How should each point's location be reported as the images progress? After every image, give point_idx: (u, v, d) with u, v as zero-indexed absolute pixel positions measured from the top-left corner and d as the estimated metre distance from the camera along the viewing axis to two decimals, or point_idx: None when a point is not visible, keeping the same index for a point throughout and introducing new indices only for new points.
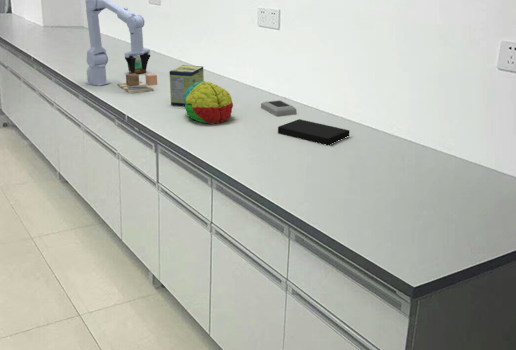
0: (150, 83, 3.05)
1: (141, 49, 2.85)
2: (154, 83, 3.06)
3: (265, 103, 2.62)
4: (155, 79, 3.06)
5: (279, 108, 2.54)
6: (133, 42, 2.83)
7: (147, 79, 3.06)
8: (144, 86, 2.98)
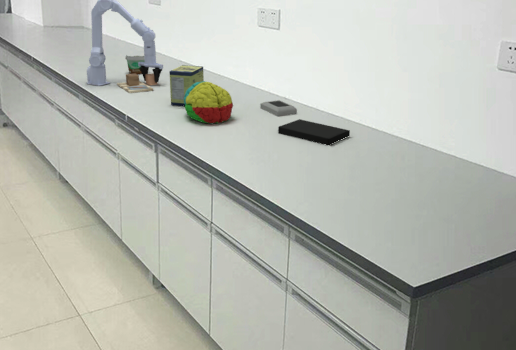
0: (150, 83, 3.05)
1: (146, 62, 3.02)
2: (154, 83, 3.06)
3: (265, 103, 2.62)
4: None
5: (280, 108, 2.54)
6: None
7: (147, 79, 3.06)
8: (144, 86, 2.98)
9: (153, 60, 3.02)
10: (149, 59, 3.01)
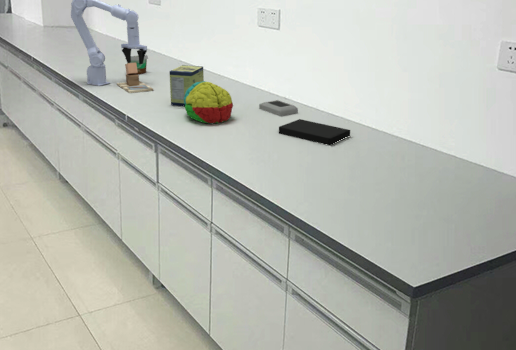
0: (130, 71, 2.98)
1: (130, 43, 2.99)
2: (134, 71, 2.99)
3: (264, 104, 2.61)
4: (135, 66, 2.99)
5: (282, 108, 2.54)
6: None
7: (127, 68, 2.99)
8: (144, 86, 2.98)
9: (137, 41, 3.00)
10: (133, 40, 2.98)
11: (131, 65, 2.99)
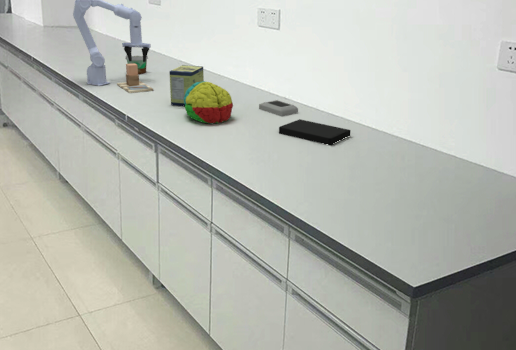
0: (130, 73, 2.98)
1: (134, 42, 3.04)
2: (135, 73, 2.99)
3: (264, 104, 2.61)
4: (136, 69, 2.99)
5: (283, 108, 2.54)
6: (130, 34, 3.05)
7: (127, 69, 2.99)
8: (144, 86, 2.98)
9: (140, 40, 3.05)
10: (137, 39, 3.04)
11: (132, 67, 2.98)
